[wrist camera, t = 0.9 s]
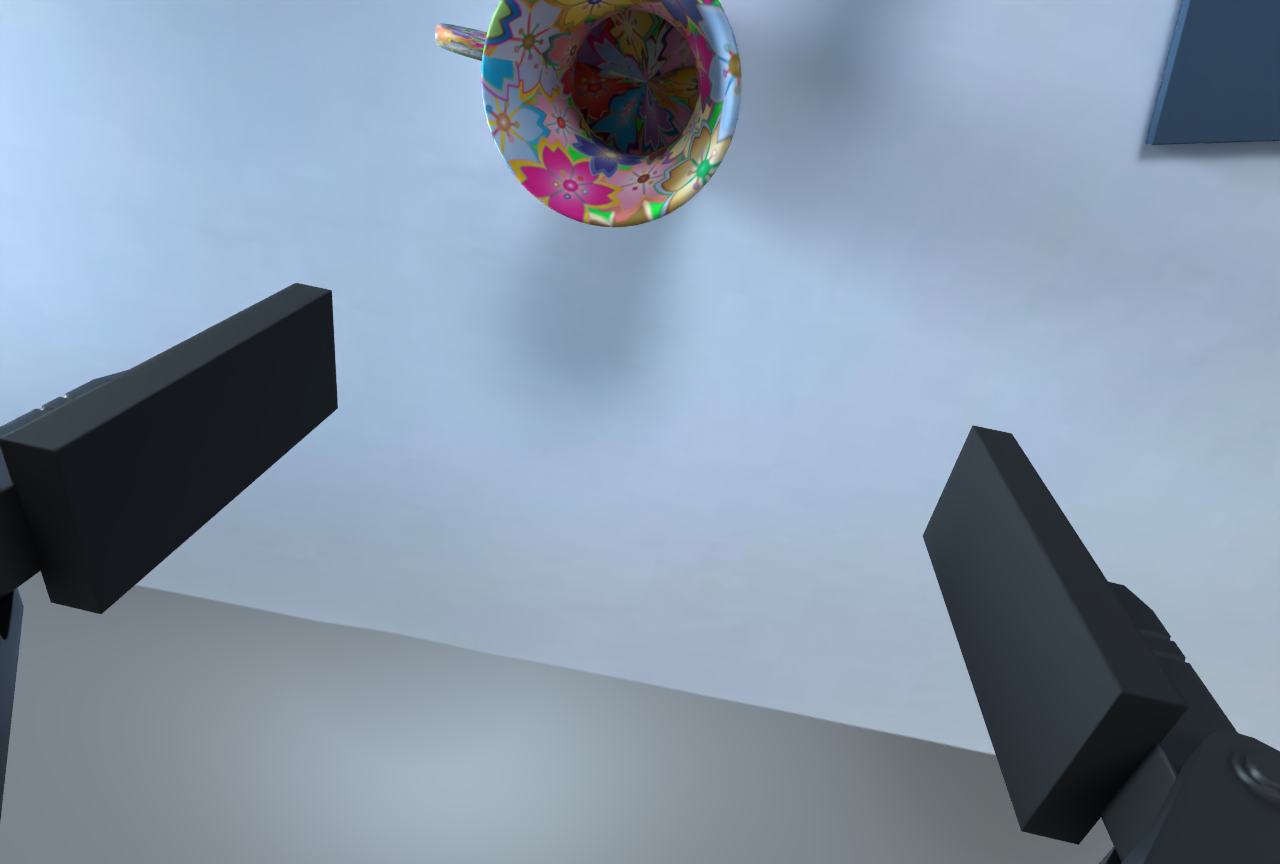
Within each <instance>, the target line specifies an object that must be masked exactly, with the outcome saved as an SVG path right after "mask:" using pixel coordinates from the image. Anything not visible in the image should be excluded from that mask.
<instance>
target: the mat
mask: <svg viewBox="0 0 1280 864" xmlns="http://www.w3.org/2000/svg"><path fill="white" fill-rule="evenodd" d="M1251 141H1280V0H1183V2H1182V6H1181V10H1180V14H1179V18H1178V21H1177V25H1176V29H1175V33H1174V37H1173V41H1172V45H1171V49H1170V52H1169V56H1168V60H1167V64H1166V68H1165V72H1164V76H1163V80H1162V83H1161V87H1160V91H1159V95H1158V99H1157V103H1156V107H1155V110H1154V114H1153V118H1152V122H1151V126H1150V130H1149V134H1148V138H1147V141H1146V143H1147V144H1151V145H1163V144H1192V143H1221V142H1251Z"/></svg>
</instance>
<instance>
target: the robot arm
mask: <svg viewBox="0 0 1280 864" xmlns="http://www.w3.org/2000/svg"><path fill="white" fill-rule="evenodd" d="M337 408H338V404H337V384H336V365H335V345H334V326H333V306H332V290H327V289H323V288H318V287H313V286H308V285H304V284H299V283H295V284H293V285H291V286H289V287H287V288H285V289H283V290H281V291H279V292H277V293H276V294H274V295H272V296H270V297H268V298H266V299H264V300H262V301H260V302H258V303H256V304H254V305H252V306H251V307H249V308H247V309H245V310H243V311H241V312H239V313H237V314H235V315H233V316H231V317H229V318H228V319H226V320H224V321H222V322H220V323H218V324H216V325H214V326H212V327H210V328H208V329H206V330H205V331H203V332H201V333H199V334H197V335H195V336H193V337H191V338H189V339H187V340H185V341H183V342H182V343H180V344H178V345H176V346H174V347H172V348H170V349H168V350H166V351H164V352H162V353H160V354H158V355H157V356H155V357H153V358H151V359H149V360H147V361H145V362H143V363H141V364H139V365H137V366H135V367H134V368H132V369H130V370H126V371H123V372H119V373H116V374H112V375H108V376H105V377H101V378H97V379H94V380H92V381H90V382H88V383H86V384H84V385H82V386H80V387H78V388H76V389H74V390H72V391H70V392H68V393H66V394H65V397H64V398H63V397H58V398H56V399H54V400H52V401H50V402H48V403H46V404H44V405H42V409H41V410H40V409H34V410H33V411H31V412H29V413H27V414H25V415H23V416H21V417H19V418H17V419H15V420H13V421H11V422H9V423H7V424H5V425H3V426H1V427H0V819H1V810H2V809H1V808H2V801H3V791H4V782H5V773H6V764H7V755H8V744H9V736H10V727H11V718H12V709H13V699H14V690H15V681H16V672H17V662H18V653H19V644H20V635H21V624H22V616H23V604H22V601H21V597H20V594H19V592H18V588H17V587H19V586H20V585H21V584H23V583H24V582H25V581H27V580H28V579H30V578H31V577H32V576H34V575H35V574H36V573H38V572H39V571H40V570H41V573H42V576H43V579H44V582H45V585H46V589H47V592H48V595H49V598H50V601H51V602H52V603H56V604H61V605H65V606H69V607H73V608H78V609H82V610H86V611H90V612H94V613H99V614H102V613H103V612H104V611H106V610H107V609H108V608H109V607H110V606H111V605H112V604H114V603H115V602H116V601H117V600H118V599H119V598H120V597H122V596H123V595H124V594H125V593H126V592H127V591H128V590H130V589H131V588H132V587H133V586H134V585H135V584H137V583H138V582H139V581H140V580H141V579H142V578H143V577H145V576H146V575H147V574H148V573H149V572H150V571H151V570H153V569H154V568H155V567H156V566H157V565H158V564H160V563H161V562H162V561H163V560H164V559H165V558H166V557H168V556H169V555H170V554H171V553H172V552H173V551H174V550H176V549H177V548H178V547H179V546H180V545H181V544H182V543H184V542H185V541H186V540H187V539H188V538H189V537H190V536H192V535H193V534H194V533H195V532H196V531H197V530H199V529H200V528H201V527H202V526H203V525H204V524H205V523H207V522H208V521H209V520H210V519H211V518H212V517H213V516H215V515H216V514H217V513H218V512H219V511H220V510H221V509H223V508H224V507H225V506H226V505H227V504H228V503H229V502H231V501H232V500H233V499H234V498H235V497H236V496H238V495H239V494H240V493H241V492H242V491H243V490H244V489H246V488H247V487H248V486H249V485H250V484H251V483H252V482H254V481H255V480H256V479H257V478H258V477H259V476H260V475H262V474H263V473H264V472H265V471H266V470H267V469H268V468H270V467H271V466H272V465H273V464H274V463H275V462H277V461H278V460H279V459H280V458H281V457H282V456H283V455H285V454H286V453H287V452H288V451H289V450H290V449H291V448H293V447H294V446H295V445H296V444H297V443H298V442H299V441H301V440H302V439H303V438H304V437H305V436H306V435H308V434H309V433H310V432H311V431H312V430H313V429H314V428H316V427H317V426H318V425H319V424H320V423H321V422H322V421H324V420H325V419H326V418H327V417H328V416H329V415H330V414H332V413H333V412H334V411H335V410H336V409H337ZM923 538H924V541H925V544H926V547H927V550H928V553H929V556H930V559H931V562H932V565H933V568H934V571H935V574H936V577H937V580H938V583H939V586H940V589H941V592H942V595H943V598H944V601H945V604H946V607H947V610H948V613H949V616H950V619H951V622H952V625H953V628H954V631H955V634H956V637H957V640H958V643H959V646H960V649H961V652H962V655H963V658H964V661H965V664H966V667H967V670H968V673H969V676H970V679H971V682H972V685H973V688H974V691H975V694H976V697H977V700H978V703H979V706H980V709H981V712H982V715H983V718H984V721H985V724H986V727H987V730H988V733H989V736H990V739H991V741H992V744H993V747H994V750H995V753H996V756H997V759H998V762H999V765H1000V768H1001V771H1002V774H1003V777H1004V780H1005V783H1006V786H1007V789H1008V792H1009V795H1010V798H1011V801H1012V804H1013V807H1014V810H1015V813H1016V816H1017V819H1018V822H1019V825H1020V828H1021V831H1023V832H1028V833H1032V834H1036V835H1040V836H1044V837H1049V838H1053V839H1057V840H1062V841H1066V842H1070V843H1074V844H1078V845H1079V844H1080V842H1081V841H1082V840H1083V838H1084V837H1085V836H1086V835H1087V834H1088V832H1089V831H1090V830H1091V829H1092V827H1093V826H1094V825H1095V824H1096V822H1097V821H1098V820H1099V819H1100V817H1102V820H1103V822H1104V824H1105V827H1106V829H1107V831H1108V833H1109V835H1110V838H1111V840H1112V842H1113V845H1114V847H1113V848H1112V849H1111V850H1110V851H1109V853H1108V854H1107V855H1106V856H1105V857H1104V858H1103V860H1102V861H1101V862H1100V863H1099V864H1280V752H1279V751H1278V750H1276V749H1274V748H1272V747H1270V746H1268V745H1266V744H1264V743H1262V742H1260V741H1258V740H1257V739H1255V738H1252V737H1248V736H1245V735H1242V734H1238V732H1237V731H1236V730H1235V728H1234V727H1233V725H1232V724H1231V722H1230V721H1229V720H1228V718H1227V717H1226V715H1225V714H1224V712H1223V711H1222V709H1221V708H1220V707H1219V705H1218V704H1217V702H1216V701H1215V699H1214V698H1213V697H1212V695H1211V694H1210V692H1209V691H1208V689H1207V688H1206V686H1205V685H1204V684H1203V682H1202V681H1201V679H1200V678H1199V676H1198V675H1197V673H1196V672H1195V671H1194V669H1193V668H1192V666H1191V665H1190V663H1186V662H1185V656H1184V655H1183V653H1182V652H1181V650H1180V649H1179V648H1178V646H1177V645H1176V643H1175V642H1174V641H1170V637H1171V636H1170V635H1169V633H1168V632H1167V630H1166V629H1165V627H1164V626H1163V625H1162V623H1161V622H1160V620H1159V619H1158V617H1157V616H1156V614H1155V613H1154V612H1153V610H1152V609H1150V608H1149V607H1148V606H1147V605H1146V604H1145V603H1144V602H1143V601H1141V600H1140V599H1139V598H1138V597H1137V596H1136V595H1135V594H1133V593H1132V592H1131V591H1130V590H1129V589H1128V588H1127V587H1125V586H1124V585H1120V584H1116V583H1111V582H1108V581H1107V580H1106V578H1105V577H1104V575H1103V573H1102V572H1101V570H1100V569H1099V567H1098V566H1097V564H1096V563H1095V561H1094V560H1093V558H1092V556H1091V555H1090V553H1089V552H1088V550H1087V549H1086V547H1085V546H1084V544H1083V543H1082V541H1081V540H1080V538H1079V536H1078V535H1077V533H1076V532H1075V530H1074V529H1073V527H1072V526H1071V524H1070V523H1069V521H1068V520H1067V518H1066V516H1065V515H1064V513H1063V512H1062V510H1061V509H1060V507H1059V506H1058V504H1057V503H1056V501H1055V499H1054V498H1053V496H1052V495H1051V493H1050V492H1049V490H1048V489H1047V487H1046V486H1045V484H1044V483H1043V481H1042V479H1041V478H1040V476H1039V475H1038V473H1037V472H1036V470H1035V469H1034V467H1033V466H1032V464H1031V462H1030V461H1029V459H1028V458H1027V456H1026V455H1025V453H1024V452H1023V450H1022V449H1021V447H1020V446H1019V444H1018V442H1017V441H1016V439H1015V438H1014V436H1013V435H1012V434H1011V433H1006V432H1002V431H997V430H992V429H987V428H983V427H978V426H972V428H971V430H970V433H969V435H968V437H967V439H966V441H965V444H964V446H963V448H962V450H961V452H960V455H959V457H958V459H957V461H956V463H955V466H954V468H953V470H952V472H951V475H950V477H949V479H948V481H947V483H946V486H945V488H944V490H943V492H942V494H941V497H940V499H939V501H938V503H937V506H936V508H935V510H934V512H933V514H932V517H931V519H930V521H929V523H928V525H927V528H926V530H925V532H924V534H923Z"/></svg>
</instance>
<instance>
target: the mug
mask: <svg viewBox="0 0 1280 864" xmlns="http://www.w3.org/2000/svg"><path fill="white" fill-rule="evenodd" d="M435 40H436V43H437V45H438V46H440V47H442V48H444V49H446V50H449V51H452V52H454V53H457V54H460V55H463V56H466V57H470V58H473V59H477V60H480V61H482V67H481V85H482V97H483V103H484V110H485V114H486V118H487V122H488V125H489V128H490V131H491V134H492V137H493V139H494V141H495V144H496V146H497V148H498V150H499V152H500V154H501V156H502V157H503V159H504V161H505V163H506V164H507V166H508V167H509V169H510V170H511V172H512V173H513V174H514V175H515V177H516V178H517V179H518V180H519V182H520V183H521V184H522V185H523V186H524V187H525V188H526V189H527V190H528V191H529V192H530V193H531V194H532V195H534V196H535V197H536V198H537V199H538V200H540V201H541V202H542V203H544V204H545V205H546V206H548V207H549V208H551V209H553V210H554V211H556V212H558V213H560V214H562V215H564V216H566V217H568V218H571V219H574V220H576V221H579V222H583V223H587V224H591V225H597V226H604V227H626V226H633V225H639V224H643V223H646V222H650V221H653V220H655V219H658V218H661V217H663V216H665V215H667V214H669V213H671V212H673V211H674V210H676V209H677V208H679V207H681V206H682V205H683V204H685V203H686V202H687V201H689V200H690V199H691V198H692V197H693V196H694V195H695V194H697V193H698V192H699V191H700V190H701V189H702V188H703V186H704V185H705V184H706V183H707V182H708V181H709V180H710V178H711V177H712V175H713V174H714V173H715V171H716V170H717V168H718V167H719V165H720V163H721V161H722V160H723V158H724V156H725V154H726V152H727V150H728V147H729V145H730V143H731V140H732V137H733V134H734V131H735V127H736V124H737V120H738V115H739V109H740V102H741V68H740V59H739V54H738V49H737V44H736V41H735V37H734V34H733V31H732V28H731V26H730V23H729V21H728V18H727V16H726V14H725V12H724V10H723V8H722V6H721V4H720V2H719V1H718V0H501V1H500V3H499V5H498V7H497V9H496V11H495V13H494V15H493V18H492V20H491V23H490V26H489V29H488V32H483V31H479V30H474V29H470V28H465V27H460V26H455V25H449V24H439V25H438V26H437V28H436V33H435Z"/></svg>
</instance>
